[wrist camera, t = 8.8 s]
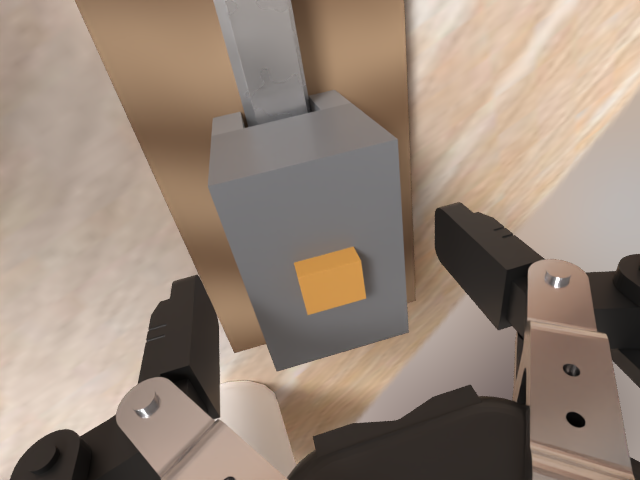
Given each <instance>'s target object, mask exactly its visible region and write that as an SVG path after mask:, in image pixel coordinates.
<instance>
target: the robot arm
mask: <svg viewBox="0 0 640 480" xmlns="http://www.w3.org/2000/svg"><path fill="white" fill-rule="evenodd" d="M435 250H436V254H437V256H438V259H439V260H440V262H441V263H442V265H443V266H444V267H445V268H446V269H447V270H448V272H449V273H450V274H451V275H452V276H453V278H454V279H455V280H456V281H457V282H458V283H459V285H460V286H461V287H462V288H463V289H464V291H465V292H466V293H467V294H468V295H469V296H470V298H471V299H472V300H473V301H474V302H475V303H476V305H477V306H478V307H479V308H480V309H481V311H482V312H483V313H484V314H485V315H486V317H487V318H488V319H489V320H490V321H491V322H492V324H493V325H494V326H495V327H496V328H497V329H498V330H501V329H504V328H507V327H510V326H513V327H514V328H515V329H516V331H517V333H516V341H515V363H514V387H513V397H512V401H511V400H508V399H504V398H497V397H488V396H478V395H477V394H476V392H475V391H474V389H473V388H472V386H471V385H468V386H465V387H462V388H459V389H456V390H453V391H450V392H446V393H443V394H440V395H437V396H435V397H432V398H431V399H429V400H428V401H426V402H425V403H423V404H422V405H420V406H419V407H417V408H416V409H414V410H413V411H411V412H410V413H408V414H407V415H405V416H404V417H402V418H401V419H399V420H396V421H384V422H368V423H353V424H350V425H347V426H344V427H341V428H338V429H335V430H332V431H329V432H326V433H322V434H319V435H316V436H313V440H314V444H315V448H316V450H314V451H313V452H311V453H310V454H308V455H307V456H306V457H305V458H304V459H303V460H301V461H300V462H299V463H298V464H297V466H296V467H295V468H294V469H293V470H292V471H291V473H290V474H289V475H288V477H287V478H286V477H285V476H284V475H282V474H281V473H280V472H279V471H278V470H277V469H276V468H275V467H273V466H272V465H271V464H270V463H269V462H268V461H267V460H266V459H264V458H263V457H262V456H261V455H260V454H259V453H258V452H257V451H255V450H254V449H253V448H252V447H251V446H250V445H249V444H248V443H246V442H245V441H244V440H243V439H242V438H241V437H240V436H239V435H237V434H236V433H235V432H234V431H233V430H232V429H231V428H230V427H228V426H227V425H226V424H225V423H224V422H222V421H221V420H219V419H217V418H220V366H219V324H218V319H217V315H216V312H215V309H214V307H213V305H212V302H211V300H210V298H209V296H208V294H207V292H206V290H205V287H204V285H203V283H202V281H201V279H200V277H199V276H198V275H195V276H191V277H187V278H184V279H180V280H177V281H174V282H173V283H172V289H171V296H170V299H168V300H165V301H161V302H160V303H159V304H158V306H157V307H156V309H155V310H154V312H153V313H152V315H151V319H150V324H149V331H148V334H147V339H146V340H147V343H146V344H145V349H144V355H143V360H142V365H141V370H140V375H139V380H138V384H137V385H136V386H135V387H133V388H132V389H131V390H130V391H129V392H128V393H127V394H126V395H125V396H124V398H123V399H122V400H121V402H120V404H119V406H118V409H117V412H116V415H115V416H113V417H112V418H110V419H109V420H107V421H106V422H104V423H102V424H100V425H99V426H97V427H95V428H94V429H92V430H90V431H89V432H87V433H85V434H84V435H82V436H79V435H78V434H77V433H76V432H74V431H72V430H68V429H64V430H58V431H55V432H52V433H50V434H48V435H46V436H44V437H43V438H41V439H40V440H38V441H37V442H36V443H35V444H33V445H32V446H31V447H30V448H29V449H28V450H27V451H26V452H25V453H24V455H23V456H22V457H21V458H20V460H19V461H18V463H17V464H16V466H15V468H14V470H13V473H12V475H11V478H10V480H640V462H639V461H637V460H635V459H633V458H631V457H630V456H629V451H628V445H627V440H626V434H625V429H624V423H623V418H622V412H621V407H620V401H619V396H618V390H617V385H616V379H615V374H614V368H613V363H612V361H613V362H615V364H617V366H618V367H620V369H622V370H623V372H624V373H625V374H627V376H629V377H630V378H631V380H632V381H633V382H634V383H635V384H636V385H637V386H638V387H639V388H640V254H634V255H629V256H626V257H624V258H622V259H621V260H620V262H619V264H618V267H617V270H616V271H609V272H590V273H585V272H584V271H583V270H582V269H581V268H579V267H578V266H576V265H574V264H572V263H569V262H566V261H563V260H556V259H544V258H543V257H541V256H540V255H539V254H537V253H536V252H535V251H534V250H532V249H531V248H530V247H529V246H528V245H526V244H525V243H524V242H523V241H521V240H520V239H519V238H518V237H516V236H515V235H514V236H513V233H511V232H510V231H509V230H508V229H506V228H504V226H503V225H501V224H500V223H499V222H498V221H496V220H495V219H494V218H492V217H489V216H487V215H484V214H482V213H479V212H477V213H473V212H471V211H470V210H469V209H468V208H467V207H466V206H464V205H463V204H462V203H460V202H457V203H454V204H450V205H447V206H443V207H440V208H437V209H436V211H435ZM214 419H217V420H216V421H215V420H214Z"/></svg>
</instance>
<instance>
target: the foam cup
mask: <svg viewBox="0 0 640 480" xmlns="http://www.w3.org/2000/svg"><path fill="white" fill-rule="evenodd" d="M217 419H219V420H221V421H222V422H224V423H225V424H226V425H227V426H228V427H230V428H231V429H232V430H233V431H234V432H235V433H236V434H237V435H239V436H240V437H241V438H242V439H243V440H244V441H245V442H246V443H248V444H249V445H250V446H251V447H252V448H253V449H254V450H255V451H257V452H258V453H259V454H260V455H261V456H262V457H263V458H264V459H266V460H267V461H268V462H269V463H270V464H271V465H272V466H273V467H275V468H276V469H277V470H278V471H279V472H280V473H281V474H282V475H284V476H285V477H286V478H287V477H288V475H289V474H290V473H291V471H292V470H293V469H294V468H295V467H296V462H295V459H294V456H293V452H292V449H291V445H290V442H289V438H288V435H287V432H286V428H285V425H284V421H283V418H282V415H281V411H280V408H279V404H278V401H277V400H276V396H275V393H274V392H273V391H271V390H270V389H269V388H268V387H267V386H266V385H264V384H260V383H256V382H252V381H248V380H246V381H232V382H225V383H223V384H220V418H217ZM217 419H214V420H215V421H216V420H217Z"/></svg>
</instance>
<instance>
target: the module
mask: <svg viewBox="0 0 640 480" xmlns="http://www.w3.org/2000/svg"><path fill="white" fill-rule="evenodd" d="M308 98H309V103H310V109H311V112H310V113H306V114H302V115H298V116H294V117H289V118H285V119H281V120H277V121H273V122H268V123H264V124H260V125H256V126H252V127H247V128H245V126H244V122H243V119H242V115H241V112H237V113H232V114H228V115H224V116H219V117H215V118H213V122H212V135H211V148H210V162H209V175H208V189H209V191H210V194H211V197H212V199H213V202H214V205H215V207H216V210H217V213H218V215H219V218H220V221H221V224H222V226H223V229H224V232H225V234H226V237H227V240H228V242H229V245H230V248H231V250H232V253H233V256H234V258H235V261H236V264H237V266H238V269H239V272H240V274H241V277H242V280H243V282H244V285H245V288H246V291H247V293H248V296H249V299H250V301H251V304H252V307H253V309H254V312H255V315H256V317H257V320H258V323H259V325H260V328H261V331H262V333H263V336H264V339H265V341H266V344H267V347H268V350H269V352H270V355H271V358H272V360H273V363H274V366H275V368H276V371H280V370H284V369H287V368H291V367H294V366H297V365H301V364H304V363H307V362H311V361H314V360H317V359H321V358H324V357H328V356H331V355H334V354H338V353H341V352H344V351H348V350H351V349H355V348H358V347H361V346H365V345H368V344H371V343H375V342H378V341H381V340H385V339H388V338H392V337H395V336H398V335H402V334H405V333H408V332H409V330H408V312H407V295H406V277H405V259H404V241H403V224H402V206H401V188H400V170H399V153H398V139H397V138H396V137H394V136H393V135H392V134H391V133H389V132H388V131H387V130H386V129H384V128H383V127H382V126H380V125H379V124H378V123H377V122H375V121H374V120H373V119H371V118H370V117H369V116H368V115H366V114H365V113H364V112H363V111H361V110H360V109H359V108H357V107H356V106H355V105H354V104H352V103H351V102H350V101H348V100H347V99H346V98H345V97H343V96H342V95H341V94H340V93H338V92H337V91H336V90H331V91H327V92H322V93H318V94H314V95H309V96H308Z"/></svg>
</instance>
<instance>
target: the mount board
mask: <svg viewBox="0 0 640 480" xmlns="http://www.w3.org/2000/svg"><path fill="white" fill-rule="evenodd" d="M75 2H76V4H77V6H78V9H79V11H80V13H81V15H82V17H83V20H84V22H85V24H86V26H87V28H88V31H89V33H90V35H91V37H92V39H93V42H94V44H95V46H96V48H97V50H98V53H99V55H100V57H101V59H102V62H103V64H104V66H105V68H106V70H107V73H108V75H109V77H110V79H111V81H112V84H113V86H114V88H115V90H116V92H117V95H118V97H119V99H120V101H121V103H122V106H123V108H124V110H125V112H126V115H127V117H128V119H129V121H130V123H131V126H132V128H133V130H134V132H135V134H136V137H137V139H138V141H139V143H140V145H141V148H142V150H143V152H144V154H145V157H146V159H147V161H148V163H149V165H150V168H151V170H152V172H153V174H154V176H155V179H156V181H157V183H158V185H159V187H160V190H161V192H162V194H163V196H164V198H165V201H166V203H167V205H168V207H169V210H170V212H171V214H172V216H173V218H174V221H175V223H176V225H177V227H178V229H179V232H180V234H181V236H182V238H183V240H184V243H185V245H186V247H187V249H188V252H189V254H190V256H191V258H192V260H193V263H194V265H195V267H196V269H197V271H198V274H199V276H200V278H201V280H202V282H203V285H204V287H205V289H206V291H207V293H208V296H209V298H210V300H211V302H212V305H213V307H214V309H215V311H216V313H217V316H218V318H219V320H220V322H221V324H222V327H223V329H224V331H225V333H226V335H227V338H228V340H229V342H230V344H231V346H232V349H233V351H234V353H236V352H240V351H243V350H247V349H250V348H254V347H257V346H260V345H264V344H266V341H265V339H264V336H263V333H262V331H261V328H260V325H259V323H258V320H257V317H256V315H255V312H254V309H253V307H252V304H251V301H250V299H249V296H248V293H247V291H246V288H245V285H244V282H243V280H242V277H241V274H240V272H239V269H238V266H237V264H236V261H235V258H234V256H233V253H232V250H231V248H230V245H229V242H228V240H227V237H226V234H225V232H224V229H223V226H222V224H221V221H220V218H219V215H218V213H217V210H216V207H215V205H214V202H213V199H212V197H211V194H210V191H209V189H208V175H209V162H210V148H211V135H212V122H213V118H215V117H219V116H224V115H228V114H232V113H237V112H241V115H242V119H243V122H244V126H245V128H247V127H248V124H247V120H246V116H245V113H244V109H243V106H242V102H241V98H240V95H239V91H238V88H237V84H236V80H235V77H234V73H233V70H232V66H231V63H230V59H229V55H228V52H227V48H226V45H225V41H224V37H223V34H222V30H221V27H220V23H219V19H218V16H217V12H216V9H215V5H214V2H213V0H75ZM291 4H292V9H293V15H294V20H295V26H296V31H297V37H298V42H299V48H300V53H301V59H302V64H303V70H304V76H305V81H306V87H307V92H308V96H309V95H314V94H318V93H322V92H327V91H331V90H336V91H337V92H338V93H340V94H341V95H342V96H343V97H345V98H346V99H347V100H348V101H350V102H351V103H352V104H354V105H355V106H356V107H357V108H359V109H360V110H361V111H363V112H364V113H365V114H366V115H368V116H369V117H370V118H371V119H373V120H374V121H375V122H377V123H378V124H379V125H380V126H382V127H383V128H384V129H386V130H387V131H388V132H389V133H391V134H392V135H393V136H394V137H396V138H397V139H398V153H399V170H400V188H401V206H402V224H403V241H404V259H405V277H406V295H407V303H409V302H412V301H416V298H415V272H414V246H413V219H412V193H411V167H410V141H409V115H408V89H407V63H406V37H405V11H404V0H291Z"/></svg>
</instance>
